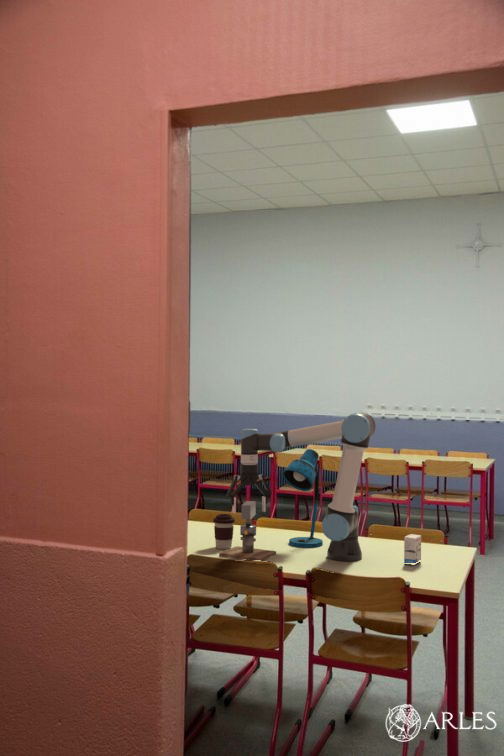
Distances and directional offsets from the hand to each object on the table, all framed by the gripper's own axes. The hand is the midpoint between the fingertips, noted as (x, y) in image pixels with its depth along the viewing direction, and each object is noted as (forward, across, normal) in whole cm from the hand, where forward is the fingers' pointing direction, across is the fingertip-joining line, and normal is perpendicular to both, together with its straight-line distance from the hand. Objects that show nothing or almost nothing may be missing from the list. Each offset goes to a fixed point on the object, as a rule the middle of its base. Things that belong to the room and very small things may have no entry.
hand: (249, 512), depth 328 cm
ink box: (+20, +64, -30) cm, 74 cm away
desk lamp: (+20, +32, +15) cm, 40 cm away
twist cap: (+10, 0, 0) cm, 10 cm away
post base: (+19, 0, 0) cm, 19 cm away
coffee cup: (+19, -7, +18) cm, 27 cm away
